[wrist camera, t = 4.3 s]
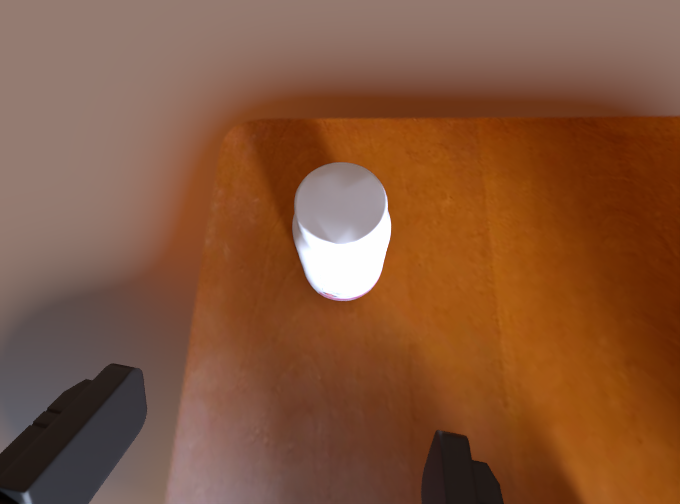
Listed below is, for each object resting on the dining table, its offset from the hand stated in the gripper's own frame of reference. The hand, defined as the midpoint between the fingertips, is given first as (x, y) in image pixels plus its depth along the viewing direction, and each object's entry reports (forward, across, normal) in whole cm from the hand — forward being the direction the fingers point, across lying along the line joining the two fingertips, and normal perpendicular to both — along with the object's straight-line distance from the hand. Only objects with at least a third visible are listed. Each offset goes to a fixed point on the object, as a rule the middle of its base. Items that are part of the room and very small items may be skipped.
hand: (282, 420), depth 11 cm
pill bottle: (+15, 0, +3) cm, 15 cm away
